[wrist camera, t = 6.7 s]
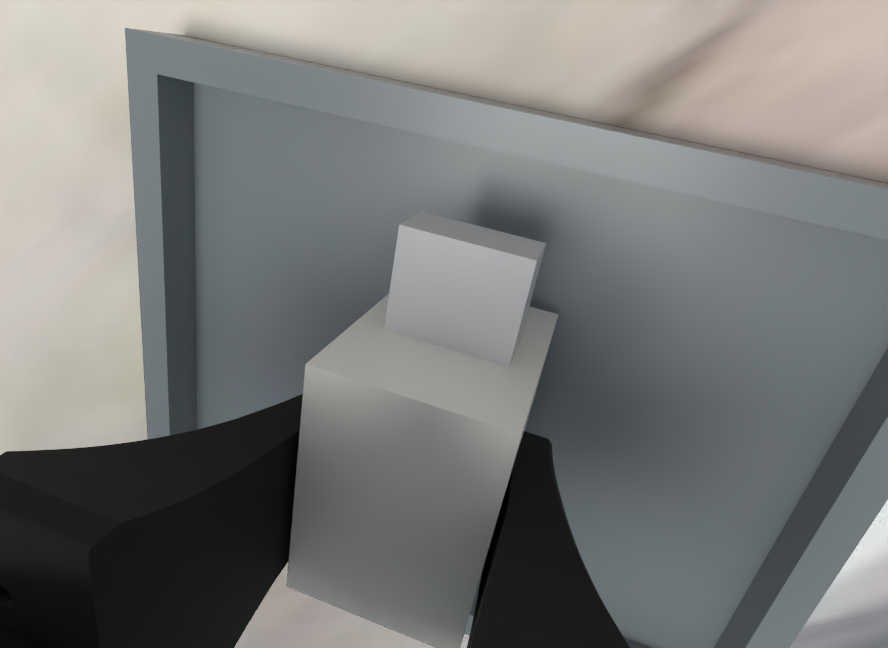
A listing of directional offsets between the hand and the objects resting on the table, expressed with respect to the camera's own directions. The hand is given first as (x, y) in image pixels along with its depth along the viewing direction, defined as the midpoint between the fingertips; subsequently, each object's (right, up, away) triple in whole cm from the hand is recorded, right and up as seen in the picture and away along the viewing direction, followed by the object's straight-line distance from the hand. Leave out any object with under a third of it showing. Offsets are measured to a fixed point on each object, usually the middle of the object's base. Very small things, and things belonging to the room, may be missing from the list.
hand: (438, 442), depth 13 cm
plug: (+1, +1, +1) cm, 2 cm away
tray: (+1, +1, +3) cm, 3 cm away
